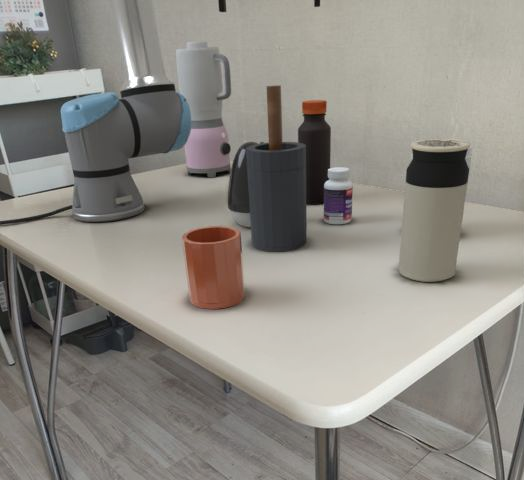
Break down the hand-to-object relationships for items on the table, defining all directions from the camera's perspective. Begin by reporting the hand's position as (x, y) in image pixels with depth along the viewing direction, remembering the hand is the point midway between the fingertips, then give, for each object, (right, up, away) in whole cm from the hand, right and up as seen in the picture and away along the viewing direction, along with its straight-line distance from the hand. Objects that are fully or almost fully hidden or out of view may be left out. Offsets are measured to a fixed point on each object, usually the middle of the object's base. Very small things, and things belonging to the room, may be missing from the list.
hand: (269, 9), depth 77 cm
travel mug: (+23, -38, +2) cm, 44 cm away
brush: (+2, -30, +16) cm, 34 cm away
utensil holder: (+2, -30, +17) cm, 35 cm away
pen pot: (-7, -42, -2) cm, 42 cm away
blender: (-15, 0, +72) cm, 74 cm away
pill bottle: (+14, -24, +27) cm, 39 cm away
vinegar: (+10, -16, +41) cm, 45 cm away
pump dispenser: (-2, -25, +28) cm, 37 cm away
